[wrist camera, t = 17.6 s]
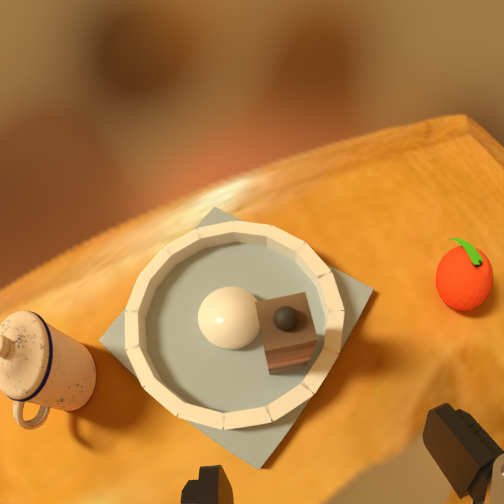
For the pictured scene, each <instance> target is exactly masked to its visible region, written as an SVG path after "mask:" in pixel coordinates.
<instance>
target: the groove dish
mask: <svg viewBox="0 0 504 504" xmlns="http://www.w3.org/2000/svg"><path fill="white" fill-rule="evenodd" d="M165 248H166V249H165ZM165 248H162V249H161V251H160V252H159V253H158V254H157V255H156V256H155V257H154V258H153V259H152V261H151V262H150V263H149V264H148V265H147V266H146V267H145V269H144V270H143V271H142V272H141V273H140V274H139V275H140V276H138V278H137V281H136V283H135V286H134V288H133V291H132V293H131V296H130V299H129V301H128V304H127V306H126V308H125V309H124V310H123V311H122V313H121V314H120V315H119V316H118V317H117V319H116V320H115V321H114V322H113V324H112V325H111V326H110V327H109V329H108V330H107V331H106V332H105V334H104V335H103V336H102V337H101V339H100V340H99V341H100V342H101V343H102V344H103V345H104V346H105V347H106V348H107V349H108V350H109V351H110V352H111V353H112V354H113V355H114V356H115V357H116V358H117V359H118V360H119V361H120V362H121V363H122V364H123V365H124V366H125V367H126V368H127V369H128V370H129V371H130V372H131V373H132V374H133V375H134V376H135V377H136V378H138V379H139V381H140V383H141V385H142V387H143V389H144V390H146V391H147V392H148V393H149V394H150V395H151V396H152V397H153V398H155V399H156V400H157V401H158V402H159V403H160V404H162V405H163V406H164V407H165V408H166V409H168V410H169V411H170V412H171V413H172V414H174V415H175V416H177V417H178V418H182V419H185V420H187V421H188V422H190V423H191V424H192V425H193V426H195V427H196V428H197V429H199V430H200V431H201V432H203V433H204V434H206V435H207V436H208V437H210V438H211V439H212V440H214V441H215V442H217V443H218V444H220V445H221V446H222V447H224V448H225V449H227V450H228V451H230V452H231V453H233V454H234V455H236V456H237V457H239V458H240V459H242V460H243V461H245V462H247V463H248V464H250V465H251V466H253V467H255V468H256V469H258V470H259V469H260V468H261V467H262V465H263V464H264V463H265V462H266V460H267V459H268V458H269V456H270V455H271V454H272V452H273V451H274V450H275V449H276V447H277V446H278V445H279V443H280V442H281V441H282V439H283V438H284V436H285V435H286V434H287V432H288V431H289V430H290V428H291V427H292V425H293V424H294V422H295V421H296V420H297V418H298V417H299V415H300V414H301V412H302V411H303V409H304V408H305V407H306V405H307V404H308V402H309V401H310V399H311V397H312V396H313V395H314V394H315V393H316V391H317V390H318V388H319V387H320V385H321V384H322V382H323V380H324V379H325V377H326V376H327V374H328V372H329V371H330V369H331V368H332V366H333V364H334V363H335V361H336V359H337V357H338V356H339V353H340V351H341V349H342V347H343V345H344V344H345V342H346V340H347V338H348V337H349V335H350V333H351V331H352V329H353V328H354V326H355V324H356V322H357V320H358V318H359V317H360V315H361V313H362V311H363V309H364V307H365V305H366V303H367V301H368V299H369V297H370V295H371V293H372V291H373V288H371V287H369V286H367V285H365V284H363V283H361V282H360V281H358V280H356V279H354V278H352V277H350V276H348V275H346V274H345V273H343V272H341V271H339V270H337V269H335V268H333V267H331V266H329V265H328V264H326V263H324V262H323V261H322V260H321V259H320V257H319V256H318V255H317V254H316V253H315V252H314V251H313V250H312V248H311V247H310V246H309V245H308V244H307V243H305V242H304V241H302V240H300V239H298V238H297V237H295V236H293V235H291V234H289V233H287V232H285V231H283V230H281V229H279V228H277V227H275V226H273V225H272V227H271V225H267V224H259V223H251V222H244V221H242V220H240V219H238V218H236V217H234V216H232V215H230V214H228V213H226V212H224V211H222V210H220V209H218V208H216V207H214V208H213V209H212V210H211V211H210V212H209V213H208V214H207V215H206V216H205V218H204V219H203V220H202V221H201V222H200V223H199V224H198V225H197V226H196V227H195V228H194V229H193V230H192V231H191V232H189V233H187V234H185V235H184V236H182V237H180V238H178V239H177V240H175V241H173V242H171V243H170V244H168V245H166V246H165ZM302 292H305V293H306V297H307V300H308V304H309V308H310V311H311V315H312V319H313V323H314V326H315V330H316V334H317V338H318V340H317V343H316V345H315V348H314V350H313V352H312V355H311V357H310V359H309V361H308V364H307V366H306V367H304V368H300V369H295V370H291V371H286V372H281V373H276V374H271V375H269V370H268V365H267V361H266V356H265V351H264V346H263V341H262V336H261V331H260V326H259V321H258V315H257V310H256V305H255V302H257V301H262V300H268V299H273V298H278V297H282V296H287V295H292V294H297V293H302Z"/></svg>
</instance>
